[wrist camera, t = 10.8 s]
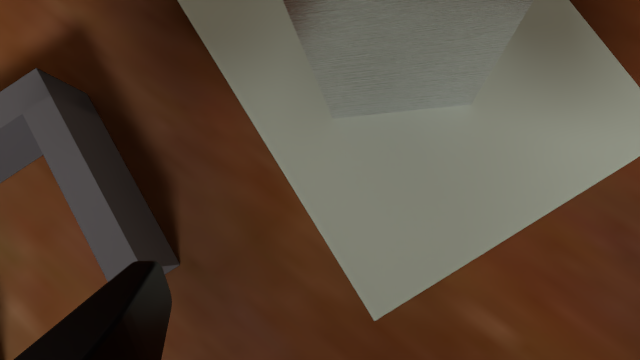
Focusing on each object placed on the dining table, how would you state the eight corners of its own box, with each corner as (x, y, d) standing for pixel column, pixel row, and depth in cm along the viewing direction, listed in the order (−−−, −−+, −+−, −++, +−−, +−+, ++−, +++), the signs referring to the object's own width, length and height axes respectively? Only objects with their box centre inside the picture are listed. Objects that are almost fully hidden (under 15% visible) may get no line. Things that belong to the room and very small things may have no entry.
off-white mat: (666, 137, 17) (676, 133, 16) (374, 318, 18) (374, 321, 17) (410, -183, 20) (411, -196, 19) (167, -20, 20) (160, -27, 20)
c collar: (180, 264, 19) (141, 268, 16) (-20, 392, 19) (-93, 418, 16) (86, 93, 20) (36, 67, 17) (-96, 215, 21) (-176, 210, 18)
